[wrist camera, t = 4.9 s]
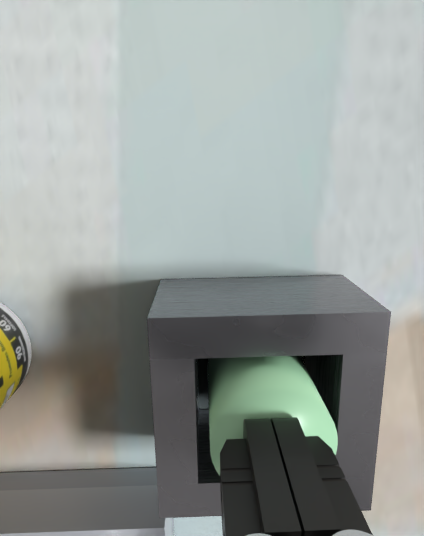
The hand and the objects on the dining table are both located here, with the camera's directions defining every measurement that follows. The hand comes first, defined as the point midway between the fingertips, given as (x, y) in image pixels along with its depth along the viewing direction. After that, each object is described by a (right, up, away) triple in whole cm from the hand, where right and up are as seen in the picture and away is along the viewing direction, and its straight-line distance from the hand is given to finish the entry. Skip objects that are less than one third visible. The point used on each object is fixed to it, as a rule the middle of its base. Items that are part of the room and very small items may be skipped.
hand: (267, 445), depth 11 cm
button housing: (0, +1, +5) cm, 5 cm away
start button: (0, +1, +4) cm, 5 cm away
